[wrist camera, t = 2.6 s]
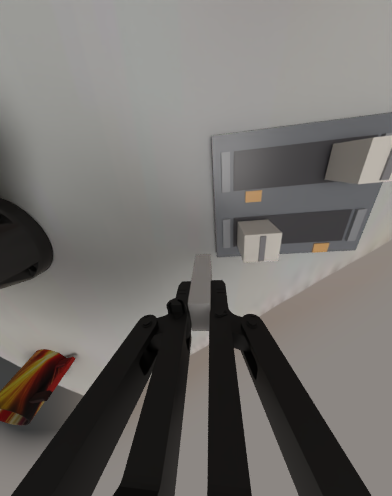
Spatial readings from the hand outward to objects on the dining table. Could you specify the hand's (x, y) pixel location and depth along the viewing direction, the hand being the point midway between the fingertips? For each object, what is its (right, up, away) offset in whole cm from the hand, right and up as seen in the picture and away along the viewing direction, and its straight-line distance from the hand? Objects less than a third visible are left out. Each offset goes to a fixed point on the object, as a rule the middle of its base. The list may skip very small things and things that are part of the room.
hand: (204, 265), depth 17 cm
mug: (-41, -29, +29) cm, 58 cm away
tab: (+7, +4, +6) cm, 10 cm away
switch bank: (+12, +9, +5) cm, 16 cm away
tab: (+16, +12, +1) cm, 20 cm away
